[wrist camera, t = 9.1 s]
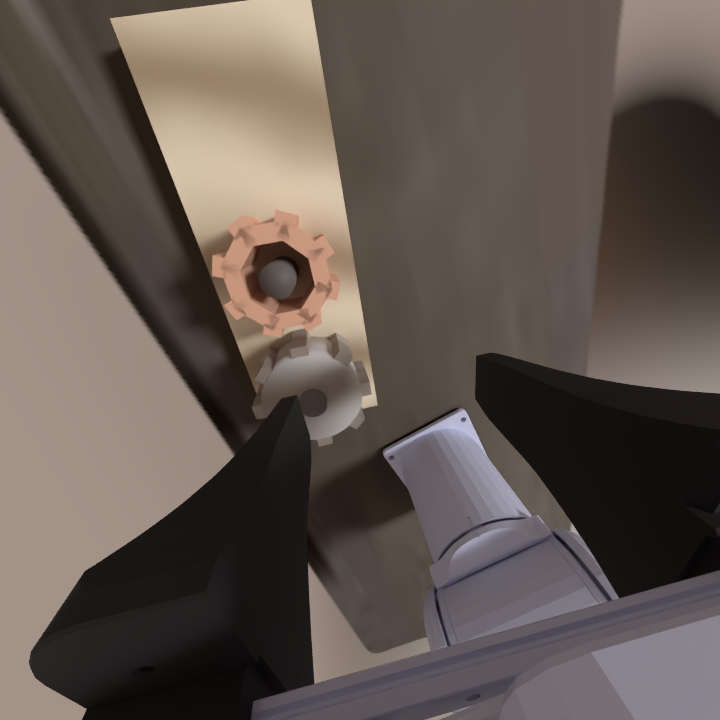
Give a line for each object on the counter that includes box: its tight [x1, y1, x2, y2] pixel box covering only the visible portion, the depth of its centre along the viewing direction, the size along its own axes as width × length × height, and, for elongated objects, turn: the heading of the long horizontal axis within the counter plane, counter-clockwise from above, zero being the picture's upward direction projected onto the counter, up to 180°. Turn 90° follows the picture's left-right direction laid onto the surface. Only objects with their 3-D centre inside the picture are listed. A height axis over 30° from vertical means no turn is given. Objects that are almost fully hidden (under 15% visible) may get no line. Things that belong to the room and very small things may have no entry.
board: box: [110, 0, 377, 446], centre depth 15 cm, size 21×8×5 cm, turn 9°
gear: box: [212, 209, 340, 338], centre depth 15 cm, size 6×6×3 cm
